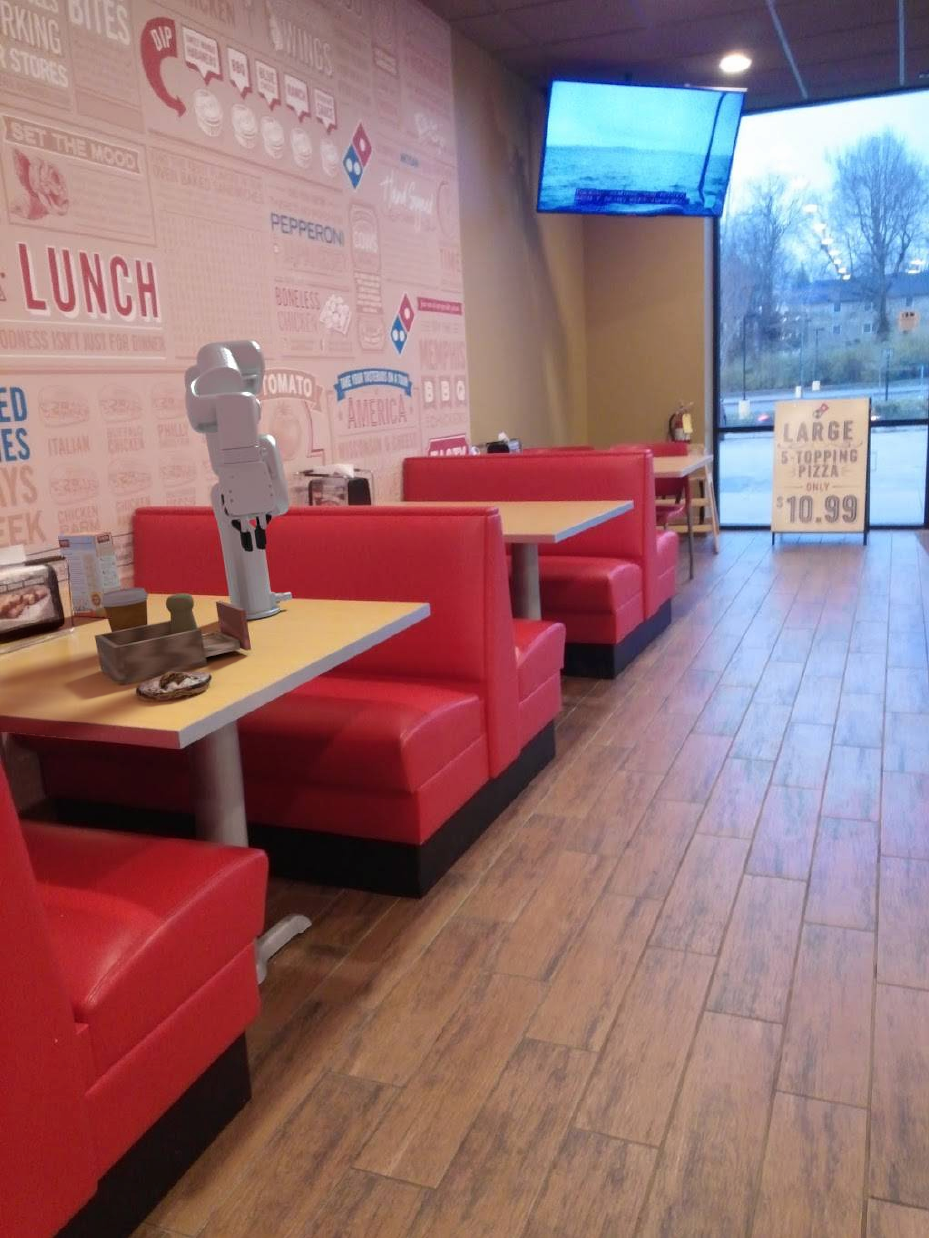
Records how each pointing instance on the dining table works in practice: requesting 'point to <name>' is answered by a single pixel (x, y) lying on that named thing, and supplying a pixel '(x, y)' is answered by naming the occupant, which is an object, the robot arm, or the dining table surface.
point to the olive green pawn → (181, 613)
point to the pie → (173, 686)
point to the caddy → (149, 652)
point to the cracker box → (90, 570)
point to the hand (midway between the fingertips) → (255, 549)
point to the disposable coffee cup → (125, 608)
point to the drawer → (228, 631)
